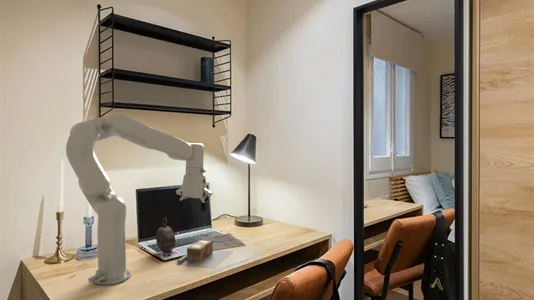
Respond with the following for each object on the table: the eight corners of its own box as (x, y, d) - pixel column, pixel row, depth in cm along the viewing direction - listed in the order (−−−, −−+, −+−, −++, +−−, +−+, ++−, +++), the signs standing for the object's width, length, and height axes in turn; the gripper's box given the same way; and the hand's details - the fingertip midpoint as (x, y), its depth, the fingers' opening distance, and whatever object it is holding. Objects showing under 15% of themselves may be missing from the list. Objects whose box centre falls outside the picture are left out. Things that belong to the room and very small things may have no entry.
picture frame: (199, 241, 173) (212, 254, 154) (199, 237, 173) (212, 249, 154) (229, 237, 181) (245, 249, 162) (229, 232, 181) (245, 244, 162)
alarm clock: (176, 254, 153) (175, 219, 152) (165, 257, 149) (164, 221, 148) (164, 248, 160) (164, 215, 160) (153, 251, 157) (153, 217, 156)
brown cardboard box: (199, 262, 139) (199, 249, 139) (187, 261, 141) (186, 247, 141) (212, 253, 151) (212, 240, 151) (200, 251, 153) (200, 239, 152)
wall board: (214, 271, 133) (213, 260, 133) (174, 266, 138) (174, 256, 138) (233, 254, 152) (233, 245, 152) (197, 250, 158) (197, 241, 157)
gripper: (216, 171, 147) (215, 210, 147) (181, 169, 152) (180, 207, 152) (208, 173, 139) (207, 214, 140) (172, 171, 145) (171, 210, 145)
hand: (193, 210), depth 146 cm, fingers open, 9 cm apart
